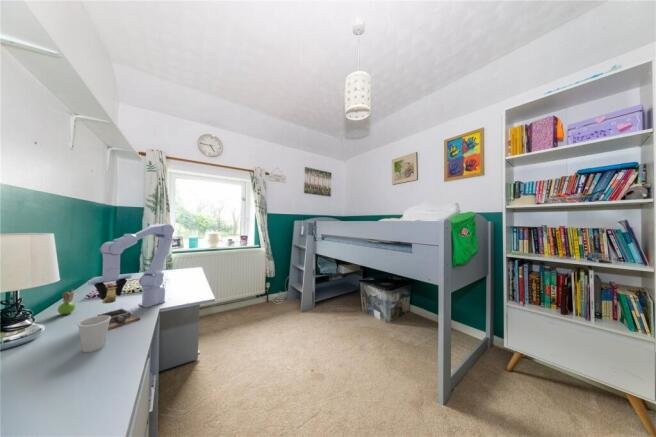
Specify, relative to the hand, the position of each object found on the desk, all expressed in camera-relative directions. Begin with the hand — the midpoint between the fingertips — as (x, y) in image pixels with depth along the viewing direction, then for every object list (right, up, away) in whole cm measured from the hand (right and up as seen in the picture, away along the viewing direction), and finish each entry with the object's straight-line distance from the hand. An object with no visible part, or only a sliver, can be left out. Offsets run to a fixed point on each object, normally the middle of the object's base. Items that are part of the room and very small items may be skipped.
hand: (110, 297), depth 103 cm
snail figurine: (-24, -9, +3) cm, 26 cm away
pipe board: (+4, -10, -2) cm, 11 cm away
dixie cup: (+16, -11, -22) cm, 29 cm away
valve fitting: (-1, -2, 0) cm, 2 cm away
